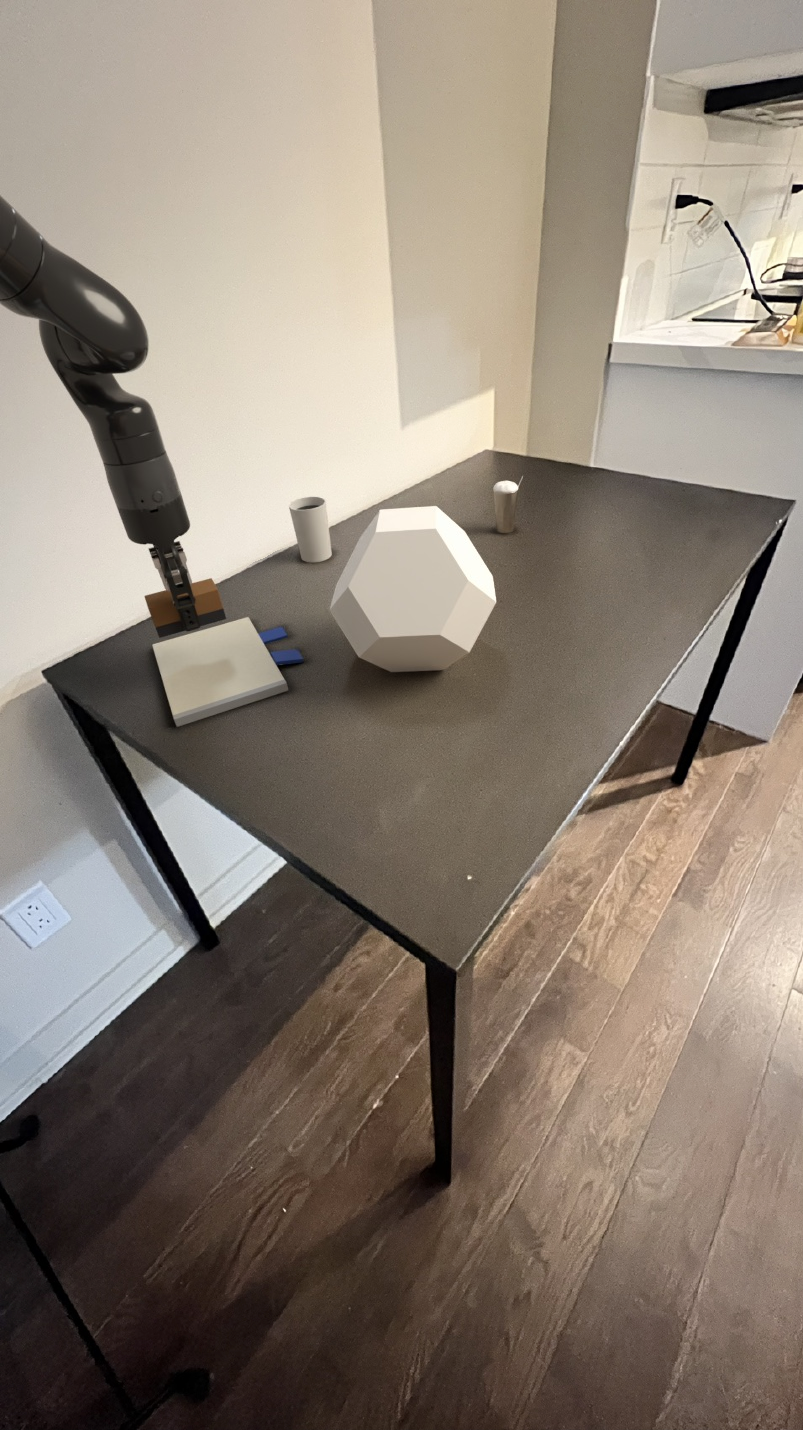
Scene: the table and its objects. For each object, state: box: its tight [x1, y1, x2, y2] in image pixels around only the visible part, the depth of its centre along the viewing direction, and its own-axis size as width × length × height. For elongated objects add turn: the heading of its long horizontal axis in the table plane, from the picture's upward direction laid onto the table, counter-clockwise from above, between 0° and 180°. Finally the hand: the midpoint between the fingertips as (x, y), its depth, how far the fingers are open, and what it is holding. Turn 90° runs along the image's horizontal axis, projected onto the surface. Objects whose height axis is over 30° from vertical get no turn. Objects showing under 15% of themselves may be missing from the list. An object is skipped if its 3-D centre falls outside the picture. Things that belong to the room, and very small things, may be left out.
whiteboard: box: [152, 616, 289, 728], centre depth 89 cm, size 15×21×1 cm
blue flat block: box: [257, 626, 289, 645], centre depth 95 cm, size 4×3×1 cm
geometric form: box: [328, 505, 497, 673], centre depth 82 cm, size 20×20×20 cm
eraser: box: [144, 577, 227, 639], centre depth 83 cm, size 4×9×4 cm, turn 115°
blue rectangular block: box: [269, 648, 304, 666], centre depth 89 cm, size 4×3×1 cm
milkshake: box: [492, 475, 524, 534], centre depth 116 cm, size 5×5×10 cm
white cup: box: [288, 496, 333, 563], centre depth 114 cm, size 7×7×10 cm
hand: (189, 620), depth 85 cm, fingers closed on eraser, 4 cm apart
